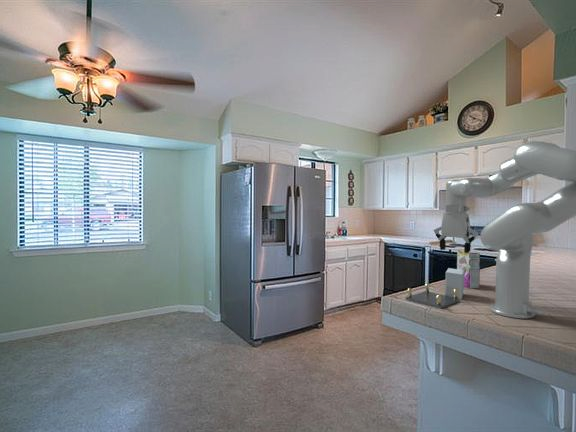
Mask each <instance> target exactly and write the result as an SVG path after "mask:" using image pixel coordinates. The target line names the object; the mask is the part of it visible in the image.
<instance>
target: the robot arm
mask: <svg viewBox="0 0 576 432" xmlns="http://www.w3.org/2000/svg"><path fill="white" fill-rule="evenodd" d="M537 175H542V176H545V177H547V178H548V177H549V178H552V179H555V180H559V181H563V182H570V184H567V185H565V186H564V187H561V188H559V189H558V190H556V191H554V192H553V193H552V194H551V195H548V196H547V197H546V198H544V199H542V200H540V201H537V202H522V203H518V204H516V205H514V206H511V207H510V208H509V209H507V210H505V211H504V212H503V213H501V214H500V215H498V216H497V217H495V218H494V219H492V220H491V221H490V222H488V223H487V224H486V225H485V226H484V227H483V228H482V230H481V231H480V242H481V243H482V245H483V246H484V247H485V248H486V249H489V250H492V251H498V253H497V256H496V261H495V263H496V264H495V295H494V296H495V299H494V301H495V303H493V304H490V306H489V310H490V311H491V312H492V313H495V314H497V315H500V316H504V317H508V318H512V319H513V318H514V319H532V318H534V317H535V315H536V314H537V315H542V316H545V314H546V309H544V308H543V307H539V306H535V305H534V304H533V302H532V301H530V278H531V277H530V276H531V274H530V273H531V271H530V270H531V256H532V250H533V246H534V240H535V238H534V237H535V235H534V234H543V233H546V232H547V233H548V232H550V231H552V230H554V229H556V228H558V227H559V226H560V225H562V224H564V223H566V222H567V221H569V220H570V219H572V218H573V217H575V216H576V149H570V148H565V147H560V146H559V145H558V144H556V143H552V142H548V141H547V142H546V141H541V140H540V141H538V140H537V141H536V140H533V141H532V140H531V141H528V142H525V143H523V144H521V145H519V147H517V149H516V150H515V152H514V155H513V156H512V157H509V158H508V159H506V160H504V161H502V162H501V163H500V165H499V172H497V173H495V174H493V175H490V176H489V177H486V178H482V177H481V178H480V177H466V178H462V179H450V180H449V179H448V181H446V183H445V210H444V211H445V212H444V213H443V215H442V219H441V226H439V227H437V228H435V229H433V232H434V234H435V236H436V238H437V239H438V241H439V249H440V251H444V250H446V247H447V246H446V244H447V243H446V238H447V237H449V238H458V239H460V238H461V239H463V240H464V241H465V242H464V244H463V245H464V246H463V247H464V249H463V250H464V252H465V253H469V251H472V250H471V249H472V248H471V244H472V242H473V241H475V240H476V239H477V237H478V236H479V232H478V231H477V230H474V229H473V228H471V221H470V216H469V213H467V211H468V212H469V211H470V207H468V206H467V198H489V197H492V196H494V195H495V196H496V195H497V194H500V193H503V192H505V191H507V190H509V189H510V188H511V187H513V186H514V185H515V184H518V183H519V182H522V181H525V180H526V179H529V178H533V177H535V176H537ZM471 234H472V236H471ZM470 236H471V237H470Z"/></svg>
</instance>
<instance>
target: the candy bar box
mask: <svg viewBox="0 0 576 432" xmlns="http://www.w3.org/2000/svg"><path fill="white" fill-rule="evenodd" d="M456 257H457V258H456V269H459V270H464V288H465V287H466V288H468V289H470V290H471V289H472V290H473V289H480V282H481V281H480V280H481V279H480V275H481V274H480V271H481V266H480V265H481V264H480V263H481V261H480V260H481V254H480V252H479V251H478V252H477V251H473V250H470V251H469V253H465V252H464V249H462V248H461V249H457V250H456Z"/></svg>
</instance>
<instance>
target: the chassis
mask: <svg viewBox="0 0 576 432" xmlns="http://www.w3.org/2000/svg"><path fill="white" fill-rule="evenodd" d="M412 289H413V288H411V287H408V288H407V296H406V297H405V300H406V301H409V302H413V303H416V302H417V304H421V305H424V306H429V307H433V308H437V309H440V310H442V309H445V308H447V307H449V306H452V305H455V304H457V303H459V302H461V300H460V299H459V298H458V289H454V297H450V296H445V294H439V293H435V292H431V291H430V283H427V282H425V291H422V292H417V293H415V294H412V292H413V291H412Z"/></svg>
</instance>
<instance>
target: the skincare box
mask: <svg viewBox="0 0 576 432" xmlns="http://www.w3.org/2000/svg"><path fill="white" fill-rule="evenodd" d="M454 289H458V298H459V299H460V301H461V300H462V298H463V295H464V289H465V286H464V270H459V269H457V268H452V267H451V268H450V267H448V268H447V270H446V271H445V282H444V295H445V296H450V297H454Z"/></svg>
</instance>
